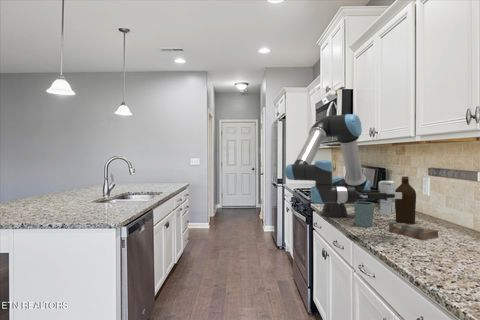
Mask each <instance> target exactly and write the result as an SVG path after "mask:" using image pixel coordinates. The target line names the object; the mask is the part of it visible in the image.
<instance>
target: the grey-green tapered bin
mask: <svg viewBox="0 0 480 320" xmlns="http://www.w3.org/2000/svg"><path fill="white" fill-rule="evenodd" d="M353 207H354V208H353V209H354V210H353V211H354V225H355V226H356V227H359V228H370V227H371V228H372V227H373V223H374V212H375V203H374V202H370V201H356V202H355V203H353Z"/></svg>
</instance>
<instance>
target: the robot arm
mask: <svg viewBox="0 0 480 320" xmlns="http://www.w3.org/2000/svg"><path fill="white" fill-rule="evenodd" d="M361 135H362V122H361V119H360V117H359V116H358V115H357V114H353V113H352V114H351V113H346V114H337V115H335V114H334V115H326V116H323V117H321V118H320V119H319V120H318V121H316V122H315V123H314V124H313V125H312V126H311V127H310V129H309V132H308V137H307V139H306V141H305V142H304V145H303V147H302V148H301V150H300V152H299V153H298V155H297V157H296V159H295V161H294V163H293V164H292V163H291V164H290V163H289V164H287V165H286V167H285V170H284V174H285V178H286V179H287V180H290V181H311V182H314V183H315V185H314V186H312V187H311V188H310V198H311V199H310V200H311V202H312V203H314V204H323V206H322V209H321V216H323V217H327V218H345V217H348V210H347V207H346V204H345V203H347V204H354V203H355V202H357V200H358V201H366V200H378V199H382V200H385V201H387V199H402V192H392V193H378V188H376V189H371V183H372V182H371V181H370V180H369V179H367V177H366V176H365V175H364V174H363V170H362V169H363V168H362V163H361V157H360V151H359V145H358V139H360V136H361ZM327 138H336V141H337V143H339V144H340V148H341V153H342V154H341V155H342V158H343V163H344V169H345V174H346V176H345V177H344V176H340V177H339V176H338V177H333V164H332V161H331V160H328V159H327V160H316V161H315V162H314V164H312V163H313V161H314V159H315V157H316V155H317V153H318V151H319V149H320V147H321V145H322V143H323V142H325V140H326V139H327Z"/></svg>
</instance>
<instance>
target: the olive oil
mask: <svg viewBox="0 0 480 320" xmlns="http://www.w3.org/2000/svg"><path fill="white" fill-rule="evenodd" d="M409 181H410V179H409V176H406V175H405V176H401V184H400V185H399V186H398V187H397V188H395V192H402V199H395V223H400V224H401V223H405V224H410V225H414V224H416V209H417V205H416V204H417V191H416V190H415V188H414V187H413V186H412V185H410V183H409Z"/></svg>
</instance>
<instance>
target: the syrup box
mask: <svg viewBox="0 0 480 320" xmlns="http://www.w3.org/2000/svg"><path fill="white" fill-rule="evenodd" d="M377 189H378V193H392V192H395V190H396V181H393V180H380V181H378V187H377ZM377 201H378V202H377V203H378V204H377V205H378V206H377V209H378V210H377V213H378V214H381V215H390V216H391V215H393V214H396V212H395V199H387V201H385V200H382V199H377Z"/></svg>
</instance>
